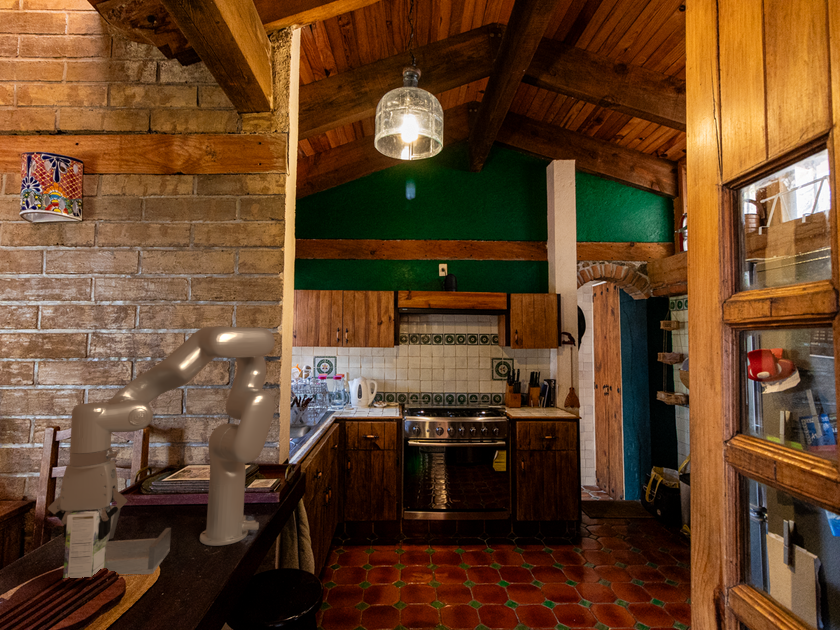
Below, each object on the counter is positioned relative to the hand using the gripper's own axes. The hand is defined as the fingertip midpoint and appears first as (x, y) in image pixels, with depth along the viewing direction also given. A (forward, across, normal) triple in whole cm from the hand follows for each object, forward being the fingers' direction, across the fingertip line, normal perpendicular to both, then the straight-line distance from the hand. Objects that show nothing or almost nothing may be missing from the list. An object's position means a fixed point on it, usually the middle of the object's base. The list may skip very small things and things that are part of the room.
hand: (87, 537), depth 100 cm
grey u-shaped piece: (+10, -4, -8) cm, 14 cm away
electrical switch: (+11, +9, -25) cm, 29 cm away
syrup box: (+8, 0, +1) cm, 8 cm away
